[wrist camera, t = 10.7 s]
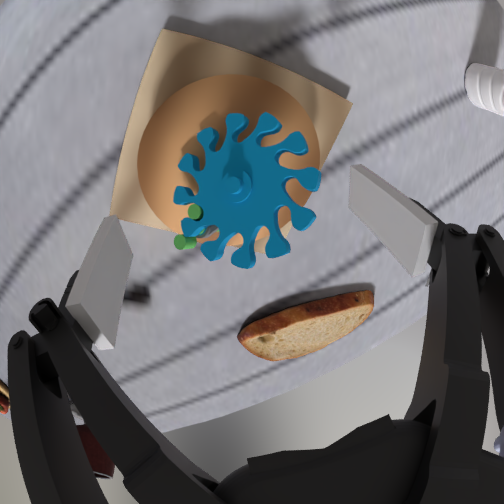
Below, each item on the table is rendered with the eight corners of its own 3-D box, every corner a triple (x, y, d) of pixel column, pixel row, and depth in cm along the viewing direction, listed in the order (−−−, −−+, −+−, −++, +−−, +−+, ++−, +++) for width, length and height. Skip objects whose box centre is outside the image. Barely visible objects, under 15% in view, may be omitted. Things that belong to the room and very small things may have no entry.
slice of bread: (380, 294, 42) (390, 310, 39) (310, 359, 49) (316, 375, 46) (300, 255, 34) (311, 274, 31) (226, 341, 41) (229, 361, 38)
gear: (255, 78, 15) (354, 208, 14) (284, 112, 20) (358, 214, 19) (139, 183, 19) (200, 305, 18) (186, 190, 25) (240, 288, 23)
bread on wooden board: (112, 209, 26) (98, 239, 21) (164, 31, 17) (154, 19, 13) (272, 248, 32) (285, 280, 28) (345, 101, 23) (376, 110, 19)
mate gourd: (108, 427, 59) (108, 490, 43) (63, 412, 52) (57, 477, 36) (124, 412, 53) (124, 488, 37) (69, 394, 46) (61, 473, 30)
